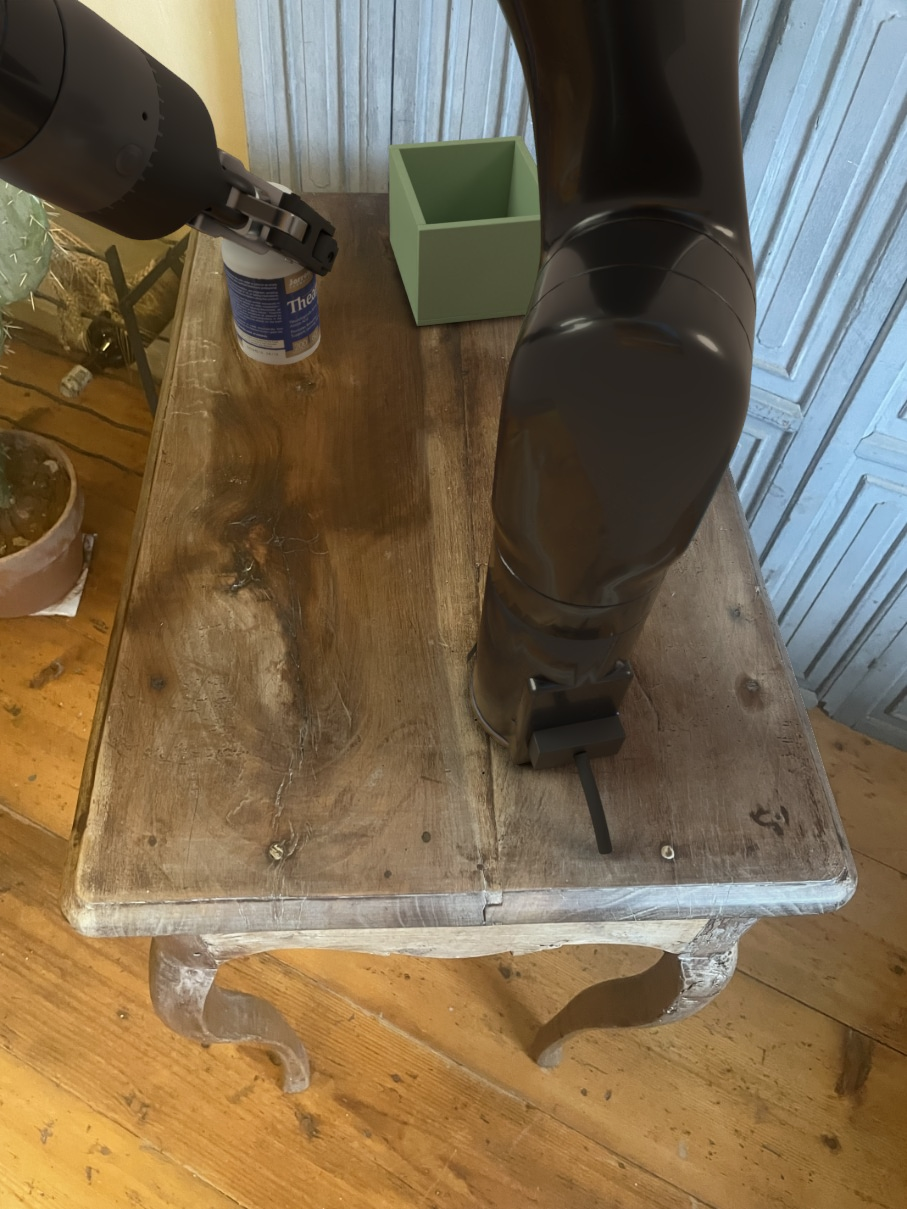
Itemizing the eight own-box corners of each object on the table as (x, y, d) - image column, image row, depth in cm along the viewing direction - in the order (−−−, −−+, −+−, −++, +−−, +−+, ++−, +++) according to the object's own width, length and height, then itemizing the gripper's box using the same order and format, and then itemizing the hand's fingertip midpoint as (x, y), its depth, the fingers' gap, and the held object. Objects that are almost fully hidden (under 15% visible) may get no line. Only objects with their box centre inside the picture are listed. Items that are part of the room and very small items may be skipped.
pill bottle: (308, 374, 55) (292, 233, 47) (227, 360, 55) (197, 218, 47) (331, 322, 58) (320, 181, 50) (254, 309, 58) (231, 167, 51)
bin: (548, 312, 82) (563, 217, 74) (417, 326, 80) (418, 230, 72) (510, 229, 89) (521, 135, 81) (389, 240, 87) (388, 144, 79)
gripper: (246, 76, 34) (410, 220, 50) (-14, -19, 38) (216, 142, 54) (182, 262, 36) (361, 344, 52) (-60, 153, 40) (176, 261, 55)
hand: (286, 241), depth 53 cm, fingers closed on pill bottle, 5 cm apart
